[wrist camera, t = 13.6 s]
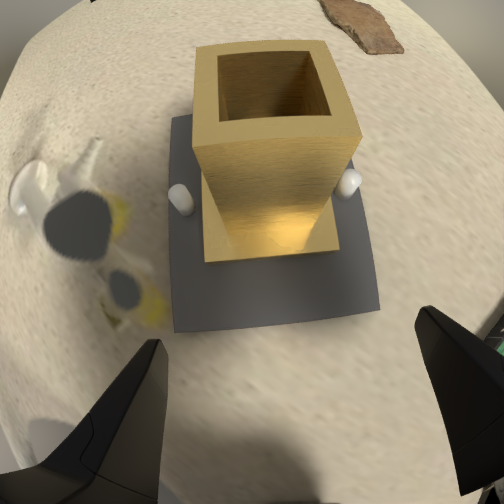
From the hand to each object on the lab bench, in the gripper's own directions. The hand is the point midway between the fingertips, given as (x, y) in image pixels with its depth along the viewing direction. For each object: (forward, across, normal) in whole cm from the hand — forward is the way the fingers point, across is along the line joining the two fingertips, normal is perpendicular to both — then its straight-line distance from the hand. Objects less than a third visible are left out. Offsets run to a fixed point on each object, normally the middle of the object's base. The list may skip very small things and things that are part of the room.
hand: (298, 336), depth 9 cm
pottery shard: (+30, -14, -17) cm, 37 cm away
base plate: (+12, 0, +1) cm, 12 cm away
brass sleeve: (+11, 0, 0) cm, 11 cm away
